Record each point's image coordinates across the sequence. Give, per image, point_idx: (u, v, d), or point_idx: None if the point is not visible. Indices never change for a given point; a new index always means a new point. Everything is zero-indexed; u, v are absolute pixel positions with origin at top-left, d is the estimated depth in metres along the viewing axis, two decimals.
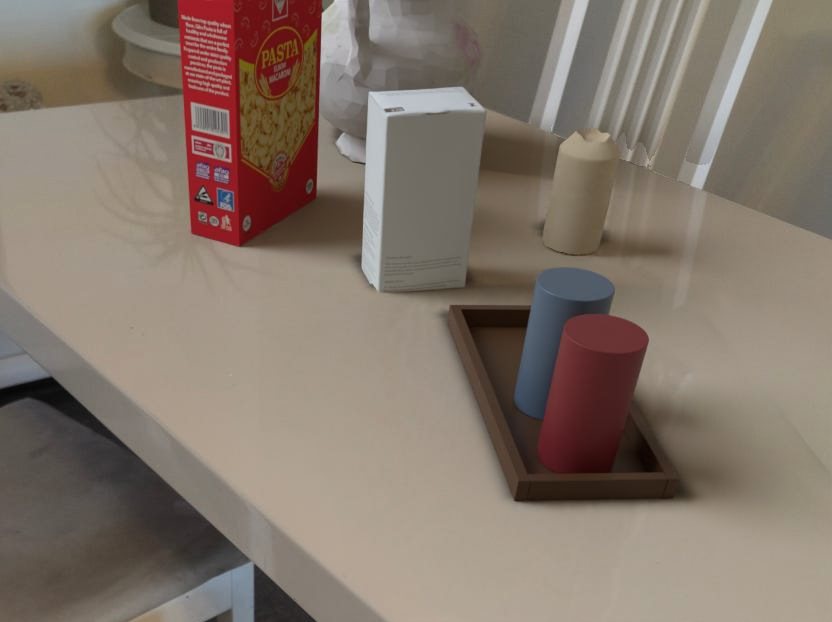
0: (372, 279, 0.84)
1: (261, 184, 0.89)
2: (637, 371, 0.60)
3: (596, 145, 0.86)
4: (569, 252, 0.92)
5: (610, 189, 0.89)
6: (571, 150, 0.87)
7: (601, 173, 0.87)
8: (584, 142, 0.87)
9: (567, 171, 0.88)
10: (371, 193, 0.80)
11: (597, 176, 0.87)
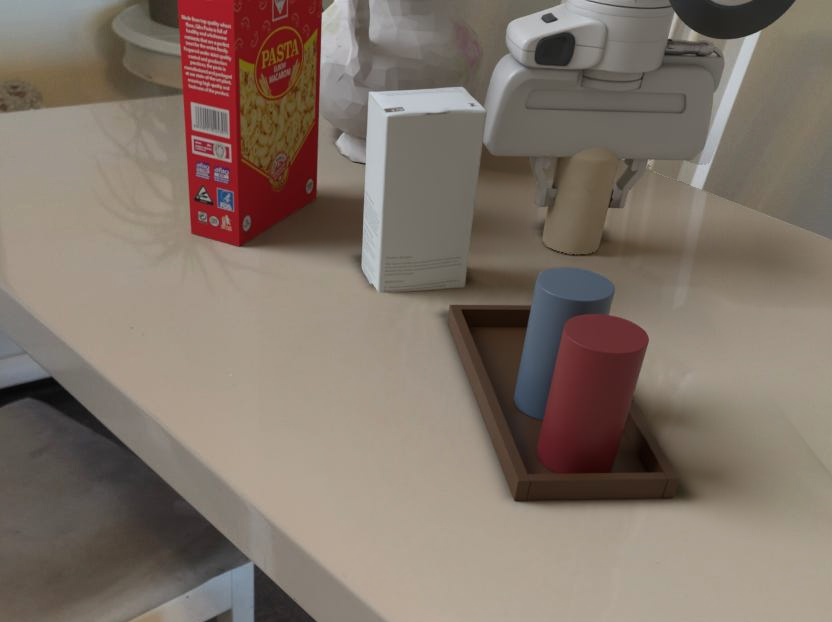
0: (372, 279, 0.84)
1: (261, 184, 0.89)
2: (637, 371, 0.60)
3: None
4: (569, 252, 0.92)
5: (610, 189, 0.89)
6: None
7: (601, 173, 0.87)
8: None
9: (567, 171, 0.88)
10: (371, 193, 0.80)
11: (597, 176, 0.87)
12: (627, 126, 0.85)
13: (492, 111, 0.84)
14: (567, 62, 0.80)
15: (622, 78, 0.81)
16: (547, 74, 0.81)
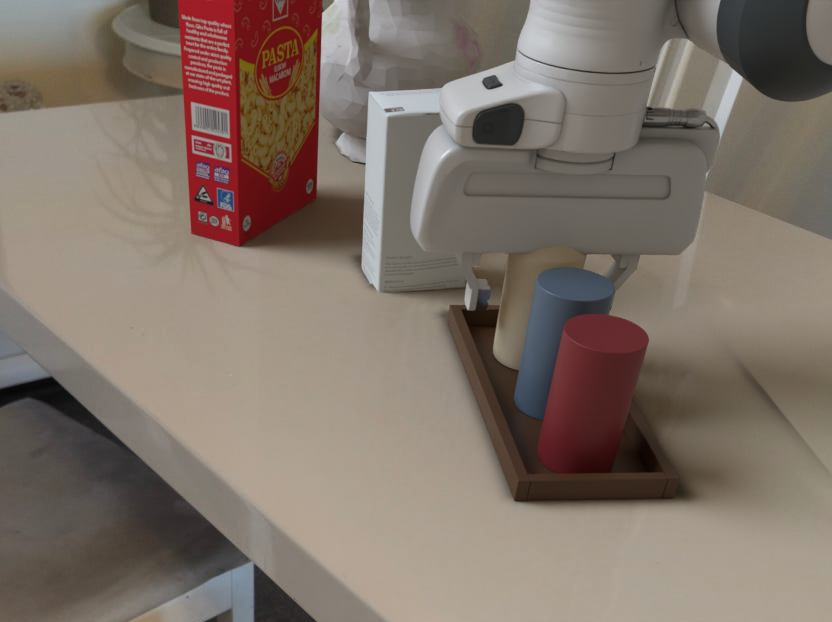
0: (372, 279, 0.84)
1: (261, 184, 0.89)
2: (637, 371, 0.60)
3: None
4: None
5: None
6: None
7: None
8: None
9: (519, 274, 0.69)
10: (371, 193, 0.80)
11: None
12: (596, 215, 0.67)
13: (422, 199, 0.65)
14: (515, 140, 0.61)
15: (587, 159, 0.63)
16: (490, 154, 0.62)
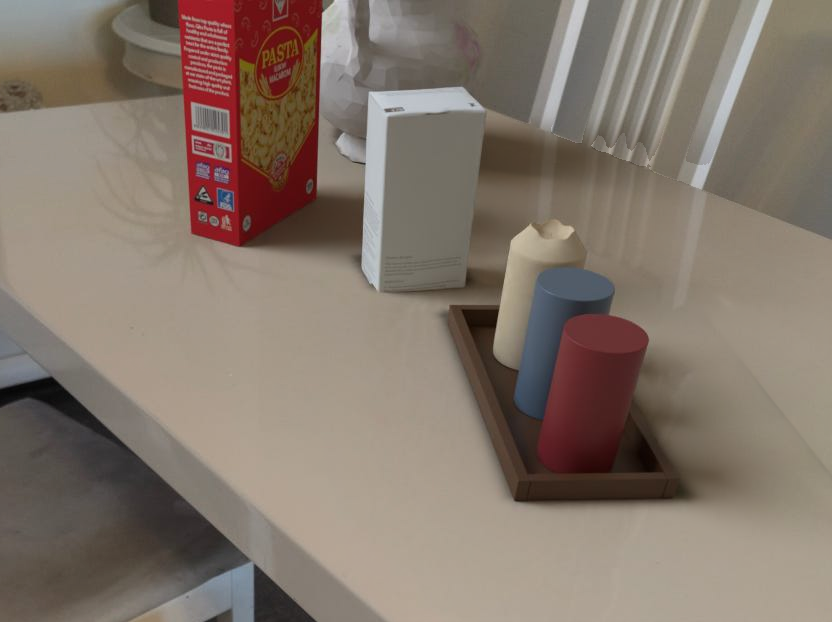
0: (372, 279, 0.84)
1: (261, 184, 0.89)
2: (637, 371, 0.60)
3: (556, 244, 0.68)
4: None
5: None
6: (524, 249, 0.69)
7: None
8: (541, 239, 0.68)
9: (520, 274, 0.69)
10: (371, 193, 0.80)
11: None
12: None
13: None
14: None
15: None
16: None
